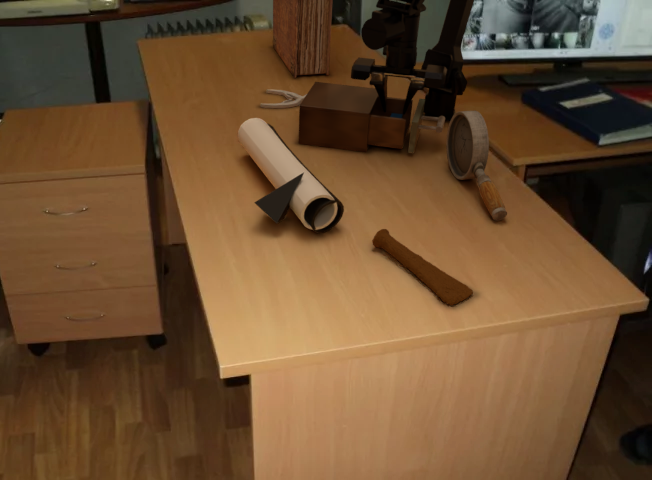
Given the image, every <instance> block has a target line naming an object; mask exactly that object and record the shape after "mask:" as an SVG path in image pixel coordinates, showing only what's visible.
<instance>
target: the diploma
mask: <svg viewBox="0 0 652 480" xmlns="http://www.w3.org/2000/svg"><path fill="white" fill-rule="evenodd" d="M237 139H238V143H239V144H240V145H241V146H242V148H243V149H244V150H245V152H246V153H247V154H248V156H250V158H251V160H253V162H254V163H255V165H256V166H257V167H258V168H259V169H260V171H261V172H262V173H263V175H264V176H265V177H266V179H267V180H268V181H269V182H270V183H271V185H272V186H273V187H274V190H272V191H271V192H269V193H267V194H265V195H264V196H263V197H261V198H259V199H257V200H256V201H255V202H254V204H255V205H256V206H257V207H258V208H259V209H260V210H261V211H263V212H264V214H266V215H267V216H268V217H269V218H270V219H271V220H272V221H273V222H274V223H275V224H279V223H281V222H282V221H284V220H285V219H286V217H287V215H288V212H289V210H290V209H291V210H292V212H293V213H294V214H295V216H296V217H297V218H298V220H300V222H301V223H302V225H303V226H304V227H305V228H307V229H309V230H313V232H315V233H317V234H324V233H326V232H330V231H331V230H332V229H333V228H335V227H336V225H338V224H339V223H340V221H341V219H342V218H343V215H344V212H345V206H344V204H343V202H342V201H341V200H340V199H339V198H338V197H337V196H335V194H333V192H332V191H330V190H329V188H328V187H326V186H325V184H324V183H322V182H321V181H320V179H319V178H317V177H316V175H315V174H314V173H312V172H311V171H310V169H309V168H308V167H307V166H306V165H305V164H304V163H303V162H302V160H300V158H299V157H297V155H296V154H295V153H294V152H293V151H292V150H291V148H290V147H289V146H288V145H287V144H286V142H285V141H284V140H283V139H282V137H281V136H280V134H279V133H278V132H277V130H276V129H275V127H274V126H273V125H271V124H270V123H267V122H266V121H265V120H264V119H262V118H259V117H251V118H248V119H246V120H245V121H243V122H242V123H241V125H240V126H239V128H238V131H237Z"/></svg>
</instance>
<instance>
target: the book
mask: <svg viewBox="0 0 652 480" xmlns="http://www.w3.org/2000/svg"><path fill="white" fill-rule="evenodd" d="M332 17H333V0H272V47H273V49H274V50H275V52H276V53H277V55H278V56H279V58H280V59H281V60H282V62H283V64H284V65H285V67H286V68H287V70H288V71H289V73H290V74H291V76H292V77H293V79H296V78H297V76H307V75H309V76H310V75H321V74H325V75H326V76H329V75H330V59H331V57H330V55H331V38H332V19H333V18H332Z"/></svg>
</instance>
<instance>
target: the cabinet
mask: <svg viewBox="0 0 652 480" xmlns="http://www.w3.org/2000/svg"><path fill="white" fill-rule="evenodd" d="M306 94H307V95H306V96H305V98H304V99H303V101H302V102H301V104H300V105H299V107H298V108H299V109H298V110H299V111H298V112H299V113H298V115H299V116H298V144H299V145H300V144H301V145H308V146H313V147H314V146H315V147H322V148H328V149H329V148H330V149H338V150H346V151H353V152H361V153H367V152H368V149H369V147H370V145H368V132H369V121H370V114H371V112H372V110H373V108H374V106H375V103H376V101H377V99H378V97H379V95H378V93H377V91H376V89H375V87H367V86H358V85H348V84H339V83H331V82H322V81H315V82H314V83H313V84H312V86H311V87H310V89H309V91H308V92H307V93H306Z"/></svg>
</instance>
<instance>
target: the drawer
mask: <svg viewBox="0 0 652 480" xmlns="http://www.w3.org/2000/svg"><path fill="white" fill-rule="evenodd" d="M405 100H406V98H402V97H401V98H400V97H391V96H387V110H386V112H384V111H383V108H382V105H381V101H380V98H379V97H378V99H377V101H376V103H375V106H374V108H373V110H372V112H371V114H370V121H369V132H368V145H369V146H377V147H384V148H391V149H399V150H402V149H403V148H404V145H405V142H406V139H407V137H408V133H409V130H410V134H409V140H408V141H409V143H408V150H407V153H409V154H415V151H416V147H417V144H418V141H419V137H420V135H421V131H422V130H430V131H435V132H436V133H437V134H441V133H443V130H444V126H445V122H446V121H445V117H444V116H440V117H439V118H438V117H431V116H424V113H423V112H424V104H425V98H419V99H418V101H417V105H416V107H415V111H414V114H413V117H412V110H413V103H414V99H412V100H411V102H410V104H409V107H408V109H407V111H406V113H405V115H403V117H402V119H401V118H393V117H390V116H391V114H392V113H396V114H403V108H404V104H405ZM411 119H412V120H411ZM423 120H426V121H436V126H433V125H425V124H424V125H423Z"/></svg>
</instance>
